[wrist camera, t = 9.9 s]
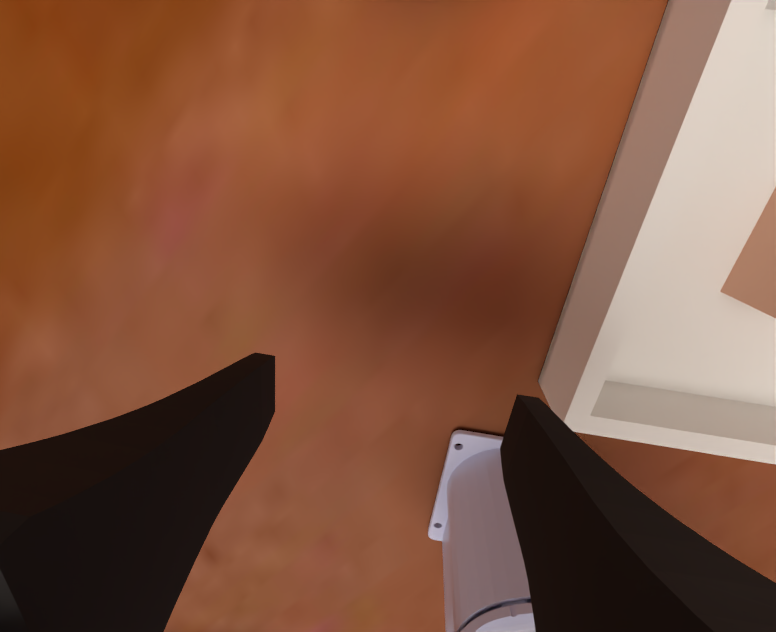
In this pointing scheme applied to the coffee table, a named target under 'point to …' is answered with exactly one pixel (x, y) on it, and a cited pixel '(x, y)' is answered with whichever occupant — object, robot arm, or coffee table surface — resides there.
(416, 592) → the coffee table surface
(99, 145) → the coffee table surface
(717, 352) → the tray
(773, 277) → the brown cube block
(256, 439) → the robot arm
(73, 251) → the coffee table surface
